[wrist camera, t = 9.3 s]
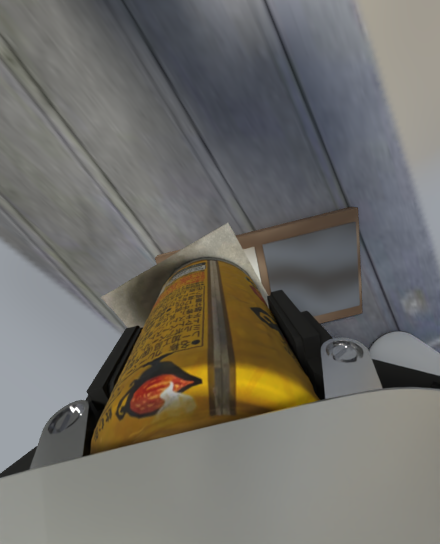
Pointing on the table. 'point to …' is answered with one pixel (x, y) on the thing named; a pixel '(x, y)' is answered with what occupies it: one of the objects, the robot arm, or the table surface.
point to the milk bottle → (406, 352)
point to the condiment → (198, 348)
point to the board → (309, 262)
